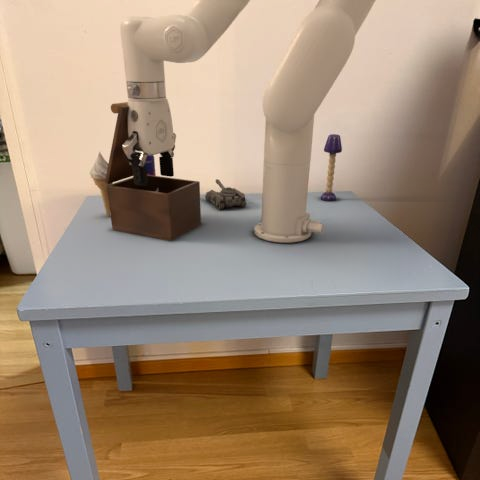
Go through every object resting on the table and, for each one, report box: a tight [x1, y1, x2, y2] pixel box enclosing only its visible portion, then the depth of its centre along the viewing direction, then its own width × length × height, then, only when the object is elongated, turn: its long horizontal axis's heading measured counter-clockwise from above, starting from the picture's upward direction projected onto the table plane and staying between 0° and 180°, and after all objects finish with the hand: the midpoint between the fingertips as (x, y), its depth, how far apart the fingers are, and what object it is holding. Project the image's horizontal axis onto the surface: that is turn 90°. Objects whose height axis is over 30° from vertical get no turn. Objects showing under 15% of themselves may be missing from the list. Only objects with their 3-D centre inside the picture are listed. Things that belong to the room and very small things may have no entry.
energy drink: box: [145, 155, 157, 176], centre depth 119 cm, size 5×5×12 cm
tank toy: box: [204, 178, 247, 211], centre depth 119 cm, size 12×10×5 cm
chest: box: [107, 175, 202, 242], centre depth 101 cm, size 16×13×10 cm
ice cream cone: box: [89, 151, 114, 217], centre depth 106 cm, size 6×6×15 cm
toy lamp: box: [320, 133, 343, 202], centre depth 121 cm, size 5×5×17 cm
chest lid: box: [105, 101, 148, 184], centre depth 96 cm, size 16×13×5 cm
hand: (154, 180), depth 98 cm, fingers open, 9 cm apart
